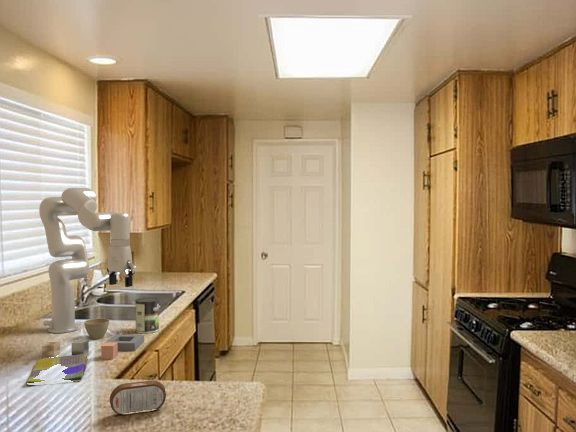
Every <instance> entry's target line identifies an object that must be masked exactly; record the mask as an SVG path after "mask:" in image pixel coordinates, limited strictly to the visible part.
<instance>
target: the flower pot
mask: <svg viewBox="0 0 576 432" xmlns="http://www.w3.org/2000/svg"><path fill="white" fill-rule="evenodd" d="M83 325H84V328H85V331H86V333H87V335H88V337H89V338H90V339H92V340H100V339H103V338H104V337H105V335H106V334H107V331H108V329H109V325H110V319H109V318H102V317H97V318H90V319H87V320H85V321H84V323H83Z"/></svg>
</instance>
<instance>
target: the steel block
mask: <svg viewBox="0 0 576 432" xmlns="http://www.w3.org/2000/svg"><path fill="white" fill-rule="evenodd" d="M89 345H90V343H89V339H75V340H74V341H72V342H71V355H80V354H83V355H86V356H87V357H88V356H89V355H90V353H89V352H90V351H89V349H90V347H89Z"/></svg>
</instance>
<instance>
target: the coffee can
mask: <svg viewBox="0 0 576 432" xmlns="http://www.w3.org/2000/svg"><path fill="white" fill-rule="evenodd" d="M134 301H135V333H138V334H153V333H156V332H158V331H160V323H159V322H160V315H159V314H160V313H159V312H160V306H159V305H160V304H159V303H160V298H158V297H150V296H149V297H141V298H140V297H139V298H136V299H135V300H134Z"/></svg>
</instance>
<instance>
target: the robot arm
mask: <svg viewBox="0 0 576 432" xmlns="http://www.w3.org/2000/svg"><path fill="white" fill-rule="evenodd" d="M97 208H98V206H97V194H96V192H95V191H94V190H93V189H92V188H88V187H69V188H66V189H64V191H63V192H62V194H61V195H60V196H51V197H50V196H49V197H46V198H44V199H42V200H41V202H40V204H39V209H38V212H39V218H40V220H41V222H42V225H43V227H44V230H45V231H44V233H45V237H46V243H47V250H48V252H49V255H50V256H51V257H53V258H65V257H71V258H68V259H67V258H65V259H60V260H55V261H53V262H51V263H50V265H49V266H48V277H49V281H50V290H51V291H50V292H51V293H50V294H51V295H50V296H51V298H50V299H51V303H50V304H51V319H50V320H44V321H43V326H45V327H46V326H48V328H47V331H48V332H49V333H50V334H51V333H52V334H65V333H70V332H71V333H72V332H74V331H75V332H76V331H77V330H79V324H76V316H75V315H76V314H75V313H76V312H75V311H76V310H75V309H76V308H75V307H76V304H75V303H76V301H75V289H74V286H73V284H72V283H71V282H70V281H73V280H74V281H75V280H81V279H84V278H86V277H88V275H89V273H90V263H89V259H88V258H89V257H88V251H87V246H86V243H85V240H84V239H83V238H82V236H80V235H73V234H72V235H68V234H67V228H66V225H65V223H64V222H63V220H61V218H60V217H59V216H63V217H65V216H77V218H78V221H79V224H80V225H82V226H83V227H85V229H88V230H89V231H92V232H105V231H106V232H107V231H109V235H110V236H109V238H110V239H109V241H110V246H109V247H108V253H107V254H108V255H107V262H106V263H105V268H106V271H107V273H108V279H109V281H108V284H109V285H110V286H113V285H116V284H118V283H117V282H118V281H117V279H118V278H117V274H116V273H123V274H124V276H125V278H124V287H125V288H131V287H133V277H134V275H135V273H136V268H137V265H135V264H134V263H133V256H132V249H131V238H130V237H131V236H130V232H131V231H130V229H131V228H130V226H131V225H130V215H129V214H128V213H126V212H113V211H111V212H110V211H109V212H108V211H107V212H105V211H103V212H96V211H97Z"/></svg>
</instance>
